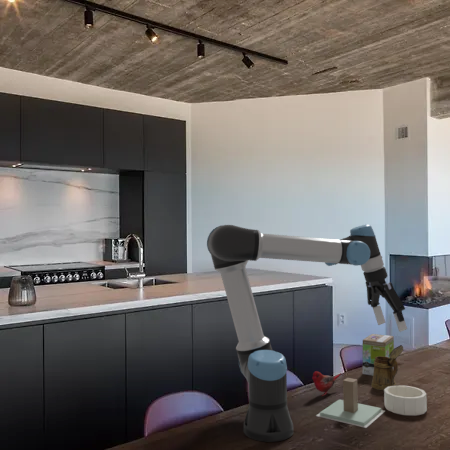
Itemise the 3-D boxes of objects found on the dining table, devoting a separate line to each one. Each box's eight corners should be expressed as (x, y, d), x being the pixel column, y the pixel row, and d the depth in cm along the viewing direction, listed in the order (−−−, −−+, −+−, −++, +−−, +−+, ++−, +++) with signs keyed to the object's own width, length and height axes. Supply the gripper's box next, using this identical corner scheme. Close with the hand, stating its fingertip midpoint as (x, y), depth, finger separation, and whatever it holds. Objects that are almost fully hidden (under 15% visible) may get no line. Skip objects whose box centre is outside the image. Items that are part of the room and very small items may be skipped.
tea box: (386, 378, 197) (385, 342, 198) (362, 374, 203) (361, 339, 203) (394, 368, 210) (393, 335, 210) (371, 365, 216) (370, 332, 216)
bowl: (379, 411, 161) (379, 393, 161) (392, 400, 171) (392, 383, 172) (419, 419, 153) (419, 400, 153) (430, 407, 164) (430, 389, 164)
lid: (319, 415, 157) (319, 381, 157) (339, 402, 169) (338, 370, 169) (364, 426, 148) (363, 390, 148) (381, 411, 160) (380, 378, 160)
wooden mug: (394, 395, 176) (393, 346, 176) (366, 386, 188) (365, 339, 188) (410, 391, 180) (409, 343, 181) (382, 382, 192) (381, 337, 192)
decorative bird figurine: (309, 399, 174) (308, 371, 174) (338, 388, 185) (337, 362, 185) (315, 401, 171) (314, 373, 172) (344, 390, 183) (344, 364, 183)
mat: (315, 417, 157) (315, 415, 157) (337, 402, 170) (337, 400, 170) (366, 429, 147) (366, 427, 147) (385, 412, 160) (385, 410, 160)
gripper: (403, 266, 154) (423, 329, 155) (365, 263, 179) (382, 317, 179) (383, 274, 153) (403, 337, 153) (347, 270, 177) (365, 324, 178)
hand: (392, 326), depth 166 cm, fingers open, 13 cm apart
